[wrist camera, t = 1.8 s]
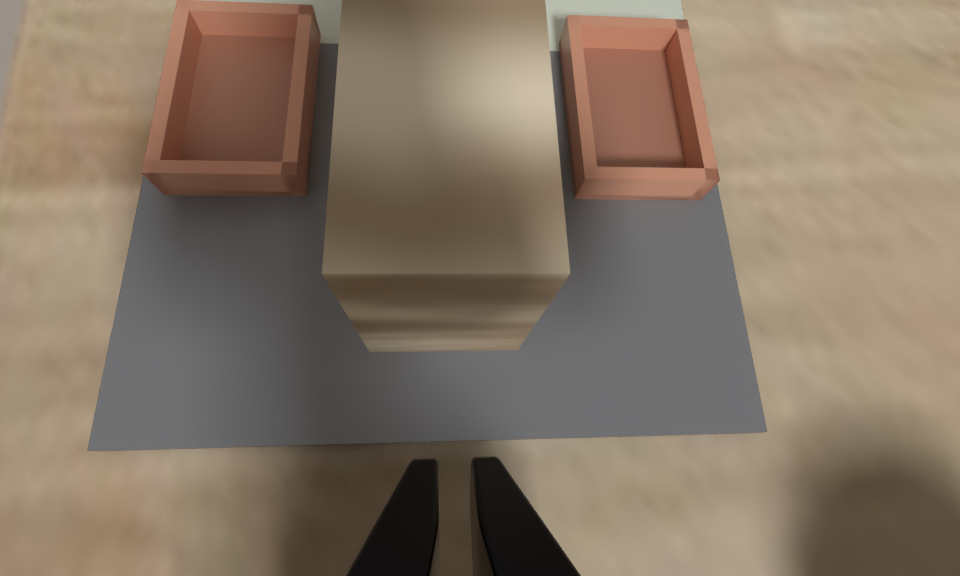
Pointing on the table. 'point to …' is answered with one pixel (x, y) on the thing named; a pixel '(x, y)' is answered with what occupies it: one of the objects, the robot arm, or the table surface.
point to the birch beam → (444, 174)
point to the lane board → (431, 374)
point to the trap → (235, 100)
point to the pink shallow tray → (635, 110)
